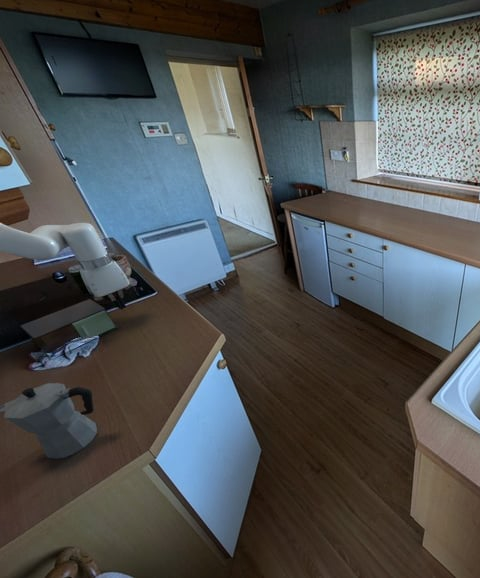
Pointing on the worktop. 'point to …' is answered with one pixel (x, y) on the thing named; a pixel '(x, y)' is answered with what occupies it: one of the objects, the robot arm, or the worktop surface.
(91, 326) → the sliding door
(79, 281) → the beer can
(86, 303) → the cupboard
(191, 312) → the worktop surface
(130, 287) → the robot arm
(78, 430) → the coffeepot
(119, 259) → the mortar and pestle
